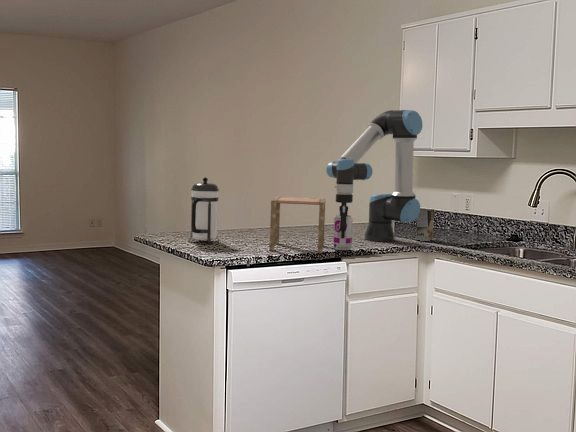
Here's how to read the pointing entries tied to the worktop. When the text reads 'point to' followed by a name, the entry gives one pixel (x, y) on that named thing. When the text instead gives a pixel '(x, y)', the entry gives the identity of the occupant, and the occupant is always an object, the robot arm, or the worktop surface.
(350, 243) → the supplement can
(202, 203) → the coffee press
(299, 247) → the worktop surface
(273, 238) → the trapdoor frame
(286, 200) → the trapdoor
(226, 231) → the worktop surface
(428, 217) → the coffee box
